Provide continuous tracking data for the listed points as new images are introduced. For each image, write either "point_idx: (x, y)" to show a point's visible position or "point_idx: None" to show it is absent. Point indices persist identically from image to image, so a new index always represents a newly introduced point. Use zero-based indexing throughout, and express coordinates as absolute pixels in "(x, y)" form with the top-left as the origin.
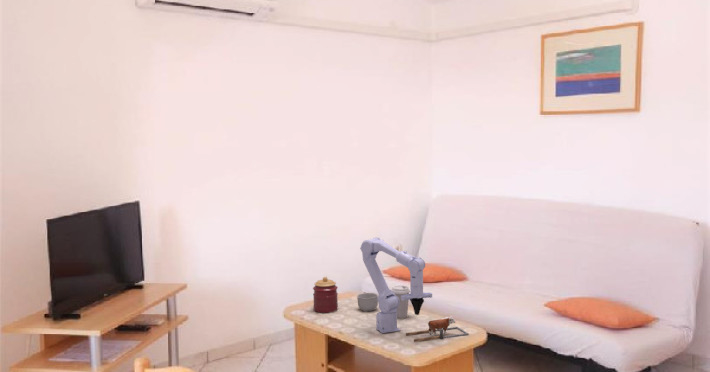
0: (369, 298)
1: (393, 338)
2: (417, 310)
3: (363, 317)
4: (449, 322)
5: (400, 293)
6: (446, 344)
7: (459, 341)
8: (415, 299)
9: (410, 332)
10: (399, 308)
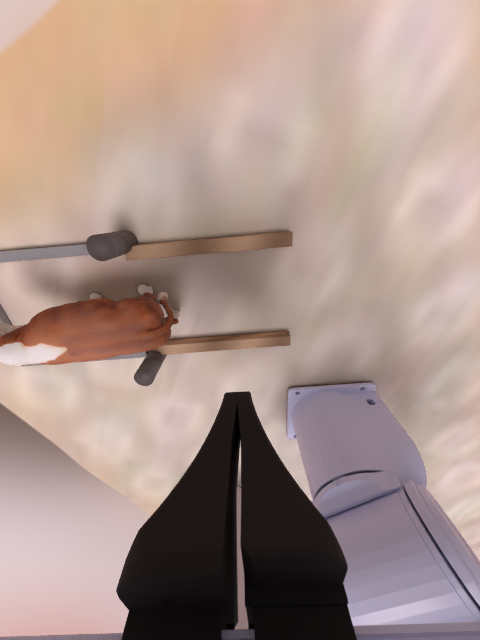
0: None
1: (361, 314)
2: (243, 419)
3: None
4: (18, 326)
5: None
6: (112, 117)
7: (18, 153)
8: (280, 613)
9: (265, 344)
10: (237, 529)
